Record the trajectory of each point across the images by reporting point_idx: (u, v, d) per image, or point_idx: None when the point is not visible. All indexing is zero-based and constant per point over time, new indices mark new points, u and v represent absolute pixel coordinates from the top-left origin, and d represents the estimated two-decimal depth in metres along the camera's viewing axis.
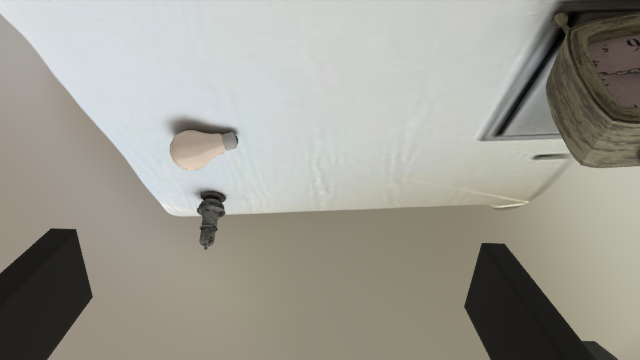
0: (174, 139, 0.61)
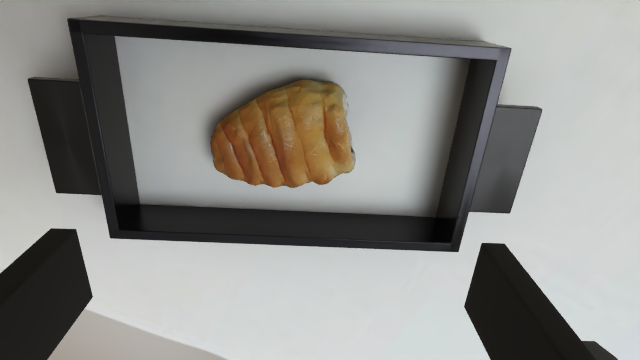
0: None
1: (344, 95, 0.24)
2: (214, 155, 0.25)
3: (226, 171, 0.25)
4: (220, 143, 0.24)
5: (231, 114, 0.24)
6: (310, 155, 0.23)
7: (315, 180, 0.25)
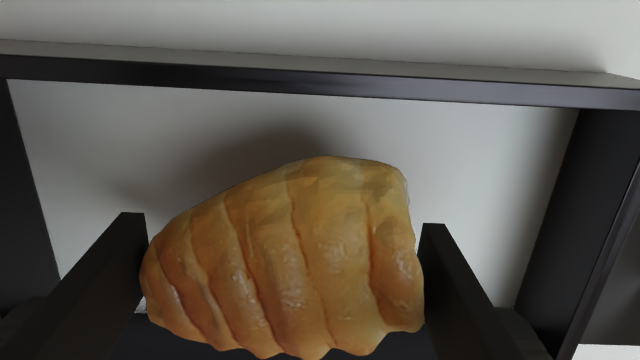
0: None
1: (405, 186, 0.12)
2: (146, 299, 0.13)
3: (170, 330, 0.13)
4: (153, 283, 0.12)
5: (177, 222, 0.12)
6: (338, 321, 0.11)
7: None
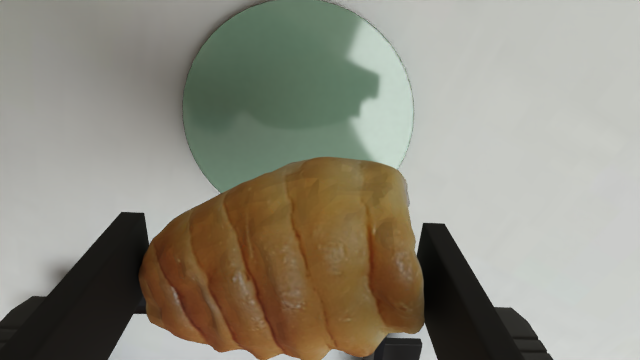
0: None
1: (405, 187, 0.12)
2: (146, 300, 0.13)
3: (170, 331, 0.13)
4: (153, 284, 0.12)
5: (177, 223, 0.12)
6: (338, 322, 0.11)
7: (345, 352, 0.12)
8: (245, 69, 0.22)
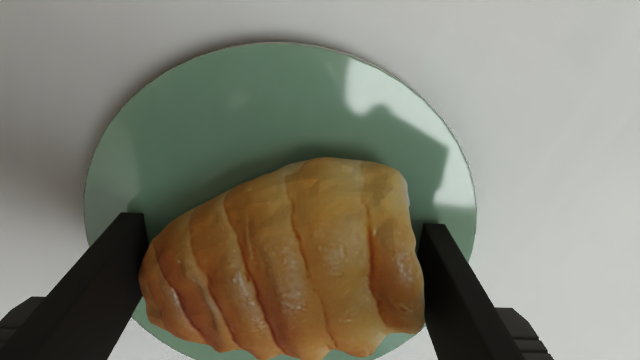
0: None
1: (405, 187, 0.12)
2: (146, 300, 0.13)
3: (170, 332, 0.13)
4: (153, 285, 0.12)
5: (177, 224, 0.12)
6: (338, 323, 0.11)
7: (345, 352, 0.12)
8: (189, 163, 0.13)
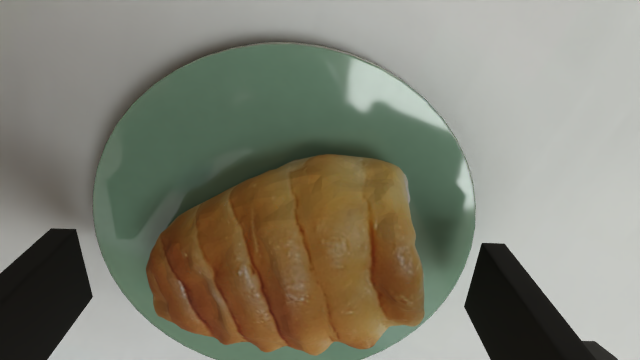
0: None
1: (406, 184, 0.12)
2: (153, 293, 0.13)
3: (176, 324, 0.13)
4: (160, 278, 0.12)
5: (184, 219, 0.13)
6: (341, 314, 0.11)
7: (347, 344, 0.13)
8: (195, 160, 0.13)
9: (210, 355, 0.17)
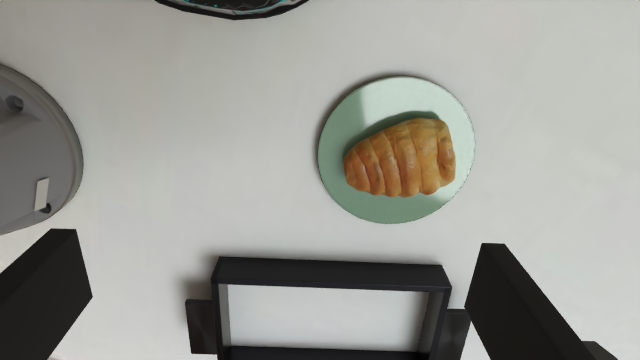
0: None
1: None
2: (347, 173, 0.33)
3: (356, 185, 0.33)
4: (354, 164, 0.33)
5: (362, 143, 0.33)
6: (425, 174, 0.31)
7: (424, 192, 0.33)
8: (364, 121, 0.33)
9: (354, 214, 0.37)
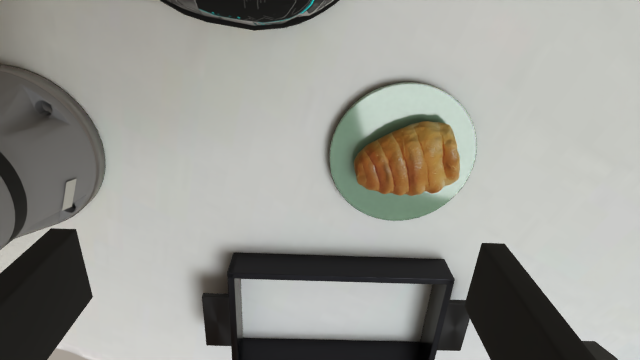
0: None
1: None
2: (358, 173, 0.36)
3: (367, 184, 0.36)
4: (365, 165, 0.35)
5: (372, 145, 0.35)
6: (432, 174, 0.34)
7: (430, 190, 0.35)
8: (374, 124, 0.35)
9: (363, 211, 0.39)
